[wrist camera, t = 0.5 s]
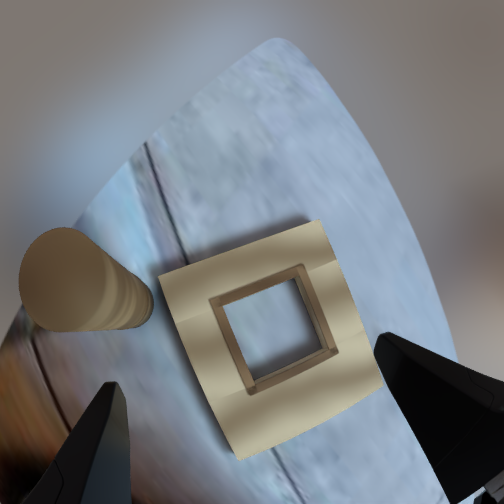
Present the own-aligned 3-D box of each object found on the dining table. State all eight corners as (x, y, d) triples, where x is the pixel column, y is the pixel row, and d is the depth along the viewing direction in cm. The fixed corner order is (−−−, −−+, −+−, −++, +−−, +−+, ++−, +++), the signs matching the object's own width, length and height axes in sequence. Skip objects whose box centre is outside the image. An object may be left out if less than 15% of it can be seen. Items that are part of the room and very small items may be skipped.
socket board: (376, 383, 24) (384, 385, 22) (236, 455, 20) (238, 461, 19) (314, 223, 26) (319, 218, 25) (159, 278, 23) (157, 275, 21)
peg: (161, 319, 22) (119, 314, 10) (115, 335, 21) (32, 345, 9) (144, 270, 23) (91, 211, 10) (99, 286, 22) (11, 246, 9)
